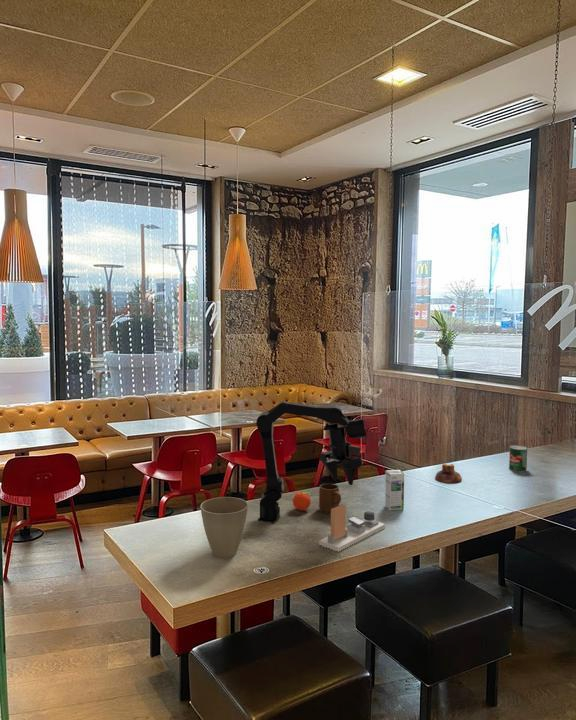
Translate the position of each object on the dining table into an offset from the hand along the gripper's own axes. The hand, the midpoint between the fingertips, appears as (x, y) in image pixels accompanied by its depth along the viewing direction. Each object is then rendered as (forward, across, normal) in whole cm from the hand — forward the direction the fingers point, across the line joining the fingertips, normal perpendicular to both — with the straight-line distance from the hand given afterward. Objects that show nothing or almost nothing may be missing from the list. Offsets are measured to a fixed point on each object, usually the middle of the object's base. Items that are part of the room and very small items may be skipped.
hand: (343, 482), depth 207 cm
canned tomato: (+26, +11, -110) cm, 114 cm away
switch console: (+15, -11, +7) cm, 20 cm away
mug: (+14, +11, 0) cm, 18 cm away
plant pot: (+10, -1, +50) cm, 51 cm away
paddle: (+12, -14, +15) cm, 23 cm away
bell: (+22, +17, -70) cm, 75 cm away
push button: (+12, -9, -3) cm, 15 cm away
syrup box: (+18, +2, -24) cm, 30 cm away
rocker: (+11, -11, +5) cm, 16 cm away
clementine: (+13, +19, +8) cm, 24 cm away
